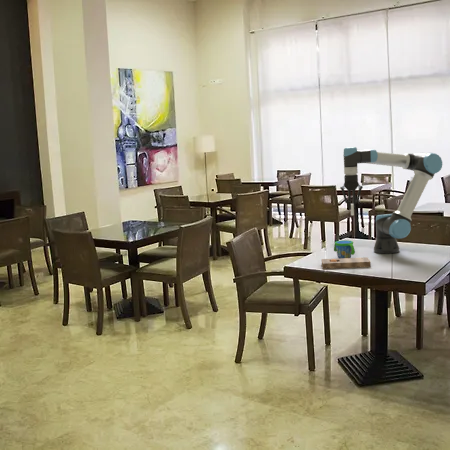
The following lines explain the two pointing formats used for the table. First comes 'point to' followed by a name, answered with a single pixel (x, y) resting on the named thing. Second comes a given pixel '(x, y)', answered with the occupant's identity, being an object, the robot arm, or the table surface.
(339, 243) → the snack cup
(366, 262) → the light wood flat slab
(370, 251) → the table surface
